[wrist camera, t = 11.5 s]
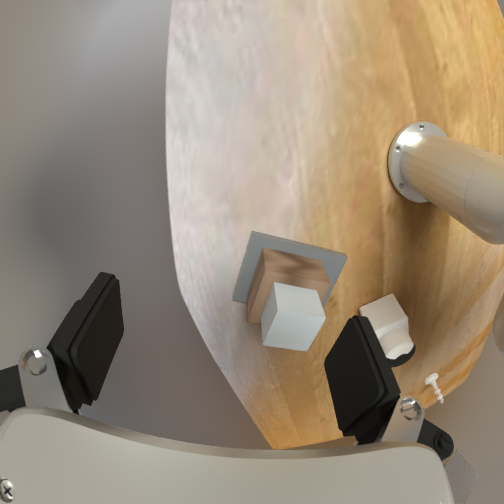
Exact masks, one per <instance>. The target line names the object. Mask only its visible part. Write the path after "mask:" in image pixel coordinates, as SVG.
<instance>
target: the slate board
mask: <svg viewBox="0 0 504 504" xmlns="http://www.w3.org/2000/svg"><path fill="white" fill-rule="evenodd" d="M263 247H265V248H269V249H274V250H278V251H283V252H287V253H291V254H295V255H300V256H304V257H308V258H313V259H317V260H321V262H322V264H323V267H324V269H325V271H326V274H327V276H328V278H329V281H330V283H331V284H330V286H329V288H328V290H327V292H326V294H325V296H324V298H323V300H322V302H321V304H322V308H323V306H324V304H325V302H326V300H327V298H328V297H329V295H330V293H331V291H332V289H333V287H334V285H335V283H336V281H337V279H338V277H339V275H340V272H341V270H342V268H343V266H344V264H345V262H346V260H347V258H348V257H347V256H346V254H344V253H340V252H337V251H333V250H329V249H325V248H321V247H317V246H313V245H309V244H304V243H300V242H296V241H292V240H288V239H284V238H280V237H276V236H271V235H267V234H263V233H259V232H255V231H252V232H251V236H250V239H249V243H248V246H247V250H246V253H245V256H244V260H243V263H242V267H241V270H240V274H239V277H238V281H237V284H236V288H235V291H234V294H233V301H238V302H243V303H247V295H248V292H249V289H250V286H251V283H252V280H253V277H254V273H255V270H256V267H257V264H258V261H259V258H260V255H261V252H262V249H263Z"/></svg>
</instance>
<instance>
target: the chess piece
mask: <svg viewBox="0 0 504 504" xmlns="http://www.w3.org/2000/svg"><path fill="white" fill-rule="evenodd" d="M437 378H438V373H434V374H431V375H430V376H428V377H427V378H426V379H425V381H424V383H425V384H431V385H432V386H433V388H434V389H435V391H436V392H435V393H434V394H437V400H439V399H440V403H443V399H442V397H443V395H442V394H441V393H440V391H441V390H440V389H439V390H438V387H437V384H436V379H437Z"/></svg>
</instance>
